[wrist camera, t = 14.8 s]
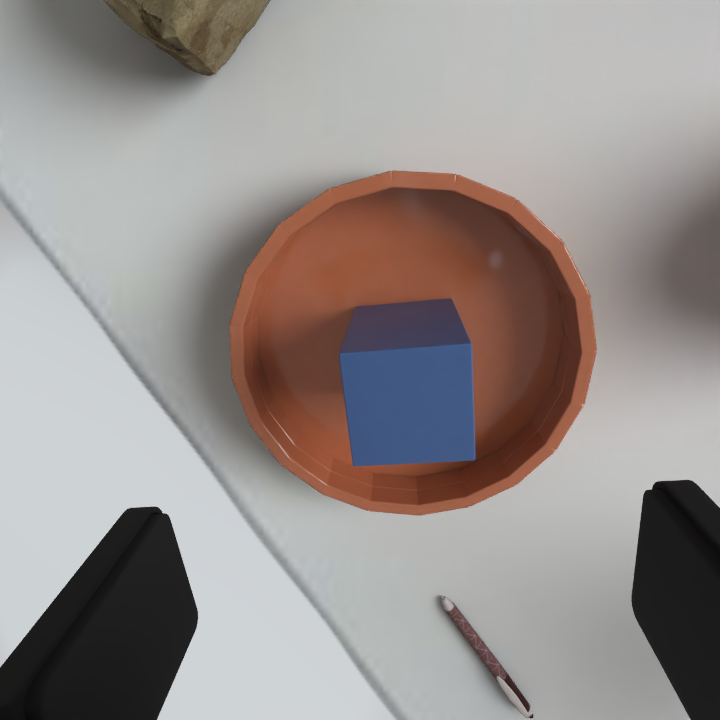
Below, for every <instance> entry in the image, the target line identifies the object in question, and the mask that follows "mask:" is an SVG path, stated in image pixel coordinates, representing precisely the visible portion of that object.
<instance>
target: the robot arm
mask: <svg viewBox="0 0 720 720" xmlns="http://www.w3.org/2000/svg"><path fill="white" fill-rule="evenodd" d="M632 607H633V611H634V614H635V617H636V619H637V621H638V623H639V625H640V627H641V629H642V631H643V632H644V634H645V636H646V638H647V640H648V642H649V644H650V645H651V647H652V649H653V651H654V653H655V655H656V656H657V658H658V660H659V662H660V664H661V666H662V667H663V669H664V671H665V673H666V675H667V677H668V679H669V680H670V682H671V684H672V686H673V688H674V690H675V691H676V693H677V695H678V697H679V699H680V701H681V702H682V704H683V706H684V708H685V710H686V712H687V714H688V715H689V717H690V719H691V720H720V508H719V507H718V506H717V505H716V504H715V503H714V502H713V501H712V500H711V499H710V498H709V496H708V495H707V494H706V493H705V492H704V491H703V490H702V489H701V488H700V487H699V486H698V485H697V484H696V483H694V482H693V481H690V480H678V481H658V482H656V483H655V484H654V485H653V488H652V490H647V491H645V493H644V496H643V503H642V512H641V521H640V529H639V538H638V546H637V555H636V564H635V572H634V581H633V589H632ZM197 621H198V611H197V607H196V604H195V600H194V597H193V594H192V590H191V587H190V584H189V580H188V577H187V574H186V571H185V567H184V564H183V561H182V557H181V554H180V550H179V547H178V544H177V541H176V537H175V534H174V530H173V527H172V524H171V520H170V518H169V516H168V515H167V514H163V513H162V511H161V510H160V509H159V508H158V507H140V508H130V509H127V510H126V511H125V512H124V513H123V514H122V515H121V516H120V518H119V519H118V520H117V522H116V523H115V524H114V525H113V527H112V528H111V529H110V530H109V532H108V533H107V534H106V535H105V537H104V538H103V539H102V540H101V542H100V543H99V544H98V545H97V547H96V548H95V549H94V551H93V552H92V553H91V554H90V556H89V557H88V558H87V559H86V560H85V562H84V563H83V565H82V566H81V567H80V568H79V569H78V571H77V572H76V573H75V574H74V576H73V577H72V578H71V579H70V581H69V582H68V583H67V585H66V586H65V587H64V588H63V589H62V591H61V592H60V593H59V595H58V596H57V597H56V598H55V599H54V601H53V602H52V603H51V605H50V606H49V607H48V609H47V610H46V611H45V612H44V613H43V615H42V616H41V617H40V619H39V620H38V621H37V622H36V623H35V625H34V626H33V627H32V628H31V630H30V631H29V633H27V635H26V636H25V637H24V638H23V640H22V641H21V642H20V644H19V645H18V646H17V647H16V649H15V650H14V651H13V652H12V654H11V655H10V656H9V657H8V659H7V660H6V661H5V662H4V664H3V665H2V666H1V667H0V720H157V718H158V716H159V713H160V711H161V708H162V706H163V704H164V702H165V699H166V697H167V695H168V692H169V690H170V688H171V685H172V683H173V681H174V679H175V676H176V674H177V672H178V669H179V667H180V665H181V662H182V660H183V658H184V656H185V653H186V651H187V648H188V646H189V644H190V642H191V639H192V637H193V635H194V632H195V630H196V627H197Z"/></svg>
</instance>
